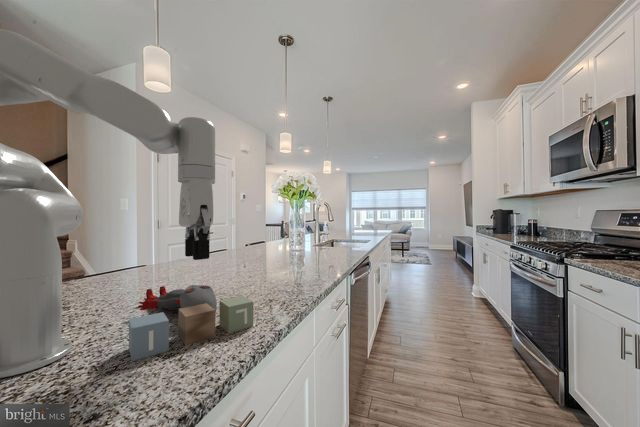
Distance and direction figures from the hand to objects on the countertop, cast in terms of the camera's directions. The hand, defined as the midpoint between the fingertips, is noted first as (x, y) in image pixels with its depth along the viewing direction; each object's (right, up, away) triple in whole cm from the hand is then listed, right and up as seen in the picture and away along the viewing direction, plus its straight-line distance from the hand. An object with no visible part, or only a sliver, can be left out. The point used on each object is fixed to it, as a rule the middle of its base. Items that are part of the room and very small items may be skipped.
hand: (196, 256), depth 59 cm
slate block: (-7, -18, -6) cm, 20 cm away
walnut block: (0, -18, 0) cm, 18 cm away
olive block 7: (+7, -18, +6) cm, 20 cm away
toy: (-12, -18, +15) cm, 26 cm away
